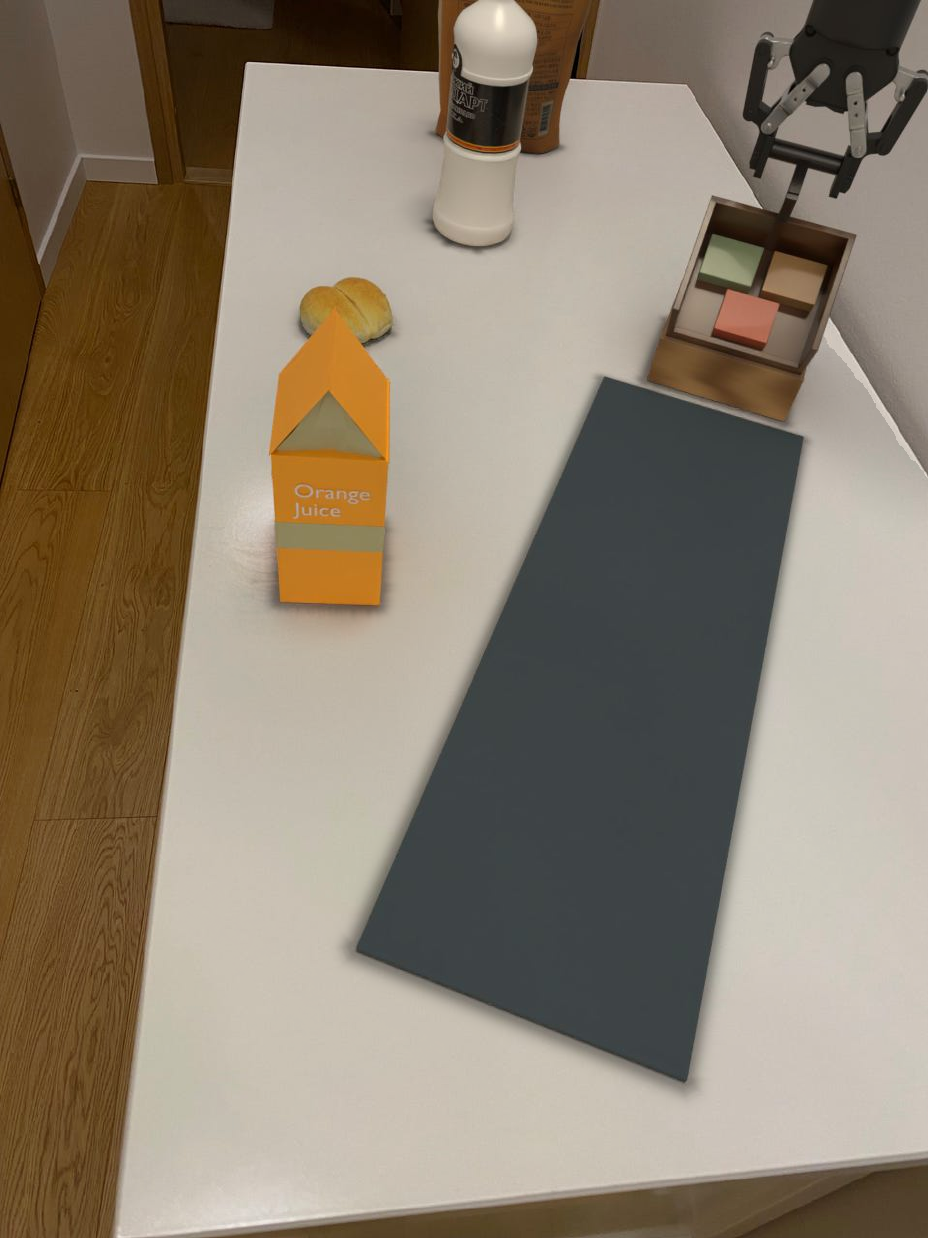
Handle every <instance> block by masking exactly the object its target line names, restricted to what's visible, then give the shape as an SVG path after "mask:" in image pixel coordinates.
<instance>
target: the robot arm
mask: <svg viewBox="0 0 928 1238" xmlns="http://www.w3.org/2000/svg"><path fill="white" fill-rule="evenodd" d="M921 2H922V0H812V1H811V4H810V8H809V11H808V14H807V15H806V16H807V17H806V20H805V22H804V25H803V27H802V29H801V30H800V31H799V32H798V33H797V34H796V35H795V36H794V38H787V37H776V36H775V35H774V33H772V32H770V31H765V32H763V33H762V34H761V35H760V36H759V39H758V40H757V43H756V45H755V48H754V52H753V58H752V63H751V68H750V73H749V79H748V83H747V89H746V93H745V99H744V104H743V109H742V117H743V118H742V119H744V120H745V121H746V122H752V123H753V124H755V126H756V127H757V128H758V131H759V132H758V135H757V139H756V141H755V144H754V148H753V150H752V154H751V156H750V159H749V163H748V164H749V169H750V170H754V172H753V175H752V177H753V178H756V179H759V180H761V179H762V176H763V173H764V171H765V167H766V166H767V162H768V159H769V158H768V157H769V154H770V151H771V148H772V146H773V143H774V140H775V138H777V134H778V131H779V128H780V126H781V125H782V124H783V123H784V122H785V120H787V119H788V117H789V116H792V115H793V114H794V113H795V112H796V111H797V109H798V108H800V106H801V105H802V104H803V103H804V102H805V105H806V106H810V107H813V108H827V109H828V110H830V111H832V112H834V113H837V114H841V115H844V114H845V112H847V120H848V121H847V122H848V131H849V141H850V144H848V145H847V147H846V149H845V152H844V155H843V156H844V158H843V161H842V164H841V167H840V169H839V171H838V174H837V175H836V176H835V175H834V178H833V181H832V183H831V186H830V187H829V188H830V189H829V193H828V198H831V199H835V200H837V199H838V197H839V195H840V193H841V194H846V193H847V192H848V191H849V190H850V189H851V187H852V185H853V182H854V180H855V178H856V176H857V174H858V171H859V168H860V166H861V164H862V161H863V160H864V158H866V157H868V156H870V155H878V156H882V157H885V156H887V155H889V154H890V153H891V152H892V150H893V149H894V146H895V145H896V144H897V142H898V140H899V139H900V137H901V135H902V133H904V131H905V129H906V127H907V126H908V124H909V122H910V121H911V118H912V117H913V115H914V114H915V112H916V111H917V109H918V107H919V105H920V104H921V103H922V100H923V99H924V97H925V96H926V94H927V93H928V70H926V69H918V70H916V71H913V70H911V69H909V68H907V67H904V66H902V65H900V52H901V48H902V46H903V44H904V41H905V39H906V37H907V34H908V32H909V30H910V27H911V25H912V22H913V21H914V17H915V16H916V13H917V11H918V8H919V6H920V4H921ZM785 57H788V59H789V62H790V65H791V69H792V73H793V77H794V80H792V81H791V83H789V85H788V86H787V87H786V88H785V89H784V91H783V92H782V94H781V95H780V96H779V97H778V98H777V100H775V102H774V103H772V104H771V106H770V105H768V104H767V103H766V102H764V101H763V98H764V93H765V89H766V83H767V79H768V74H769V71H772V70H775V69H776V68H777V67H778V66H779V64H780V61H781V60H782V59H783V58H785ZM891 83H894V85H895V89H894V94H893V97H894V98H893V99H894V100H895V102H896V103H895V106H894V108H893V109H892V111H891V113H890V114H889V116H888V117H887V119H886V121H885V122H884V125H883V126H882V128H881V130H880V131H872V132H870V130H869V100H870V99H871V98H872V97H873V96H875V95H876V94H878V93H879V92H880V91H882V90H883V89H884V88H886V87H887V86H889V85H890V84H891Z"/></svg>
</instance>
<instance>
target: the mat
mask: <svg viewBox="0 0 928 1238" xmlns="http://www.w3.org/2000/svg"><path fill="white" fill-rule="evenodd" d="M804 438H805V436H804V435H800V434H797V433H793V432H790V431H786V430H784V429H779V428H777V427H773V426H769V425H767V424H763V423H760V422H758V421H754V420H751V419H747V418H744V417H739V416H737V415H734V414H731V413H727V412H725V411H720V410H717V409H714V408H711V407H707V406H704V405H701V404H698V403H695V402H691V401H687V400H684V399H681V398H677V397H674V396H671V395H667V394H664V393H661V392H659V391H655V390H651V389H648V388H645V387H642V386H638V385H635V384H632V383H629V382H625V381H621V380H619V379H615V378H612V377H608V376H604V377H603V379H602V381H601V382H600V385H599V387H598V390H597V392H596V394H595V397H594V399H593V401H592V404H591V406H590V408H589V410H588V412H587V416H586V417H585V419H584V422H583V424H582V427H581V429H580V431H579V434H578V436H577V438H576V440H575V443H574V445H573V448H572V449H571V452H570V455H569V457H568V459H567V462H566V463H565V466H564V467H563V471H562V473H561V476H560V477H559V480H558V482H557V484H556V487H555V489H554V492H553V494H552V496H551V498H550V501H549V503H548V505H547V507H546V509H545V512H544V513H543V516H542V519H541V521H540V524H539V526H538V528H537V530H536V533H535V535H534V538H533V539H532V542H531V544H530V547H529V549H528V551H527V553H526V556H525V558H524V561H523V563H522V566H521V567H520V570H519V572H518V574H517V577H516V579H515V581H514V583H513V586H512V589H511V590H510V592H509V595H508V598H507V599H506V602H505V604H504V606H503V609H502V611H501V613H500V616H499V618H498V620H497V623H496V624H495V628H494V629H493V632H492V634H491V636H490V639H489V641H488V643H487V645H486V648H485V650H484V652H483V655H482V657H481V660H480V661H479V664H478V666H477V668H476V671H475V673H474V675H473V678H472V680H471V682H470V685H469V687H468V689H467V692H466V694H465V696H464V698H463V700H462V703H461V705H460V708H459V710H458V713H457V715H456V717H455V720H454V721H453V724H452V726H451V729H450V730H449V732H448V735H447V738H446V740H445V742H444V744H443V747H442V749H441V751H440V753H439V756H438V758H437V761H436V763H435V765H434V768H433V770H432V772H431V774H430V777H429V779H428V781H427V784H426V786H425V788H424V791H423V793H422V795H421V798H420V800H419V802H418V804H417V807H416V809H415V811H414V814H413V815H412V818H411V821H410V822H409V825H408V827H407V830H406V832H405V834H404V837H403V839H402V841H401V843H400V846H399V848H398V850H397V853H396V855H395V857H394V859H393V862H392V864H391V867H390V868H389V871H388V874H387V876H386V877H385V880H384V882H383V885H382V887H381V889H380V892H379V893H378V897H377V899H376V901H375V903H374V906H373V907H372V910H371V913H370V914H369V917H368V919H367V922H366V924H365V927H364V928H363V931H362V934H361V936H360V938H359V940H358V943H357V944H356V948H355V950H356V952H359V953H362V954H364V955H366V956H368V957H372V958H374V959H377V960H379V961H382V962H385V963H387V964H389V965H392V966H395V967H397V968H400V969H403V970H405V971H407V972H410V973H412V974H415V975H417V976H418V977H419V976H420V977H422V978H425V979H427V980H429V981H431V982H434V983H437V984H440V985H442V986H444V987H447V988H449V989H452V990H454V991H457V992H459V993H462V994H464V995H467V996H470V997H472V998H475V999H476V1000H480V1001H481V1002H484V1003H487V1004H490V1005H492V1006H494V1007H497V1008H498V1009H499V1008H500V1009H502V1010H504V1011H507V1012H509V1013H512V1014H514V1015H517V1016H519V1017H522V1018H524V1019H527V1020H529V1021H532V1022H534V1023H537V1024H540V1025H542V1026H545V1027H547V1028H549V1029H552V1030H555V1031H557V1032H560V1033H562V1034H565V1035H566V1036H570V1037H572V1038H574V1039H576V1040H577V1039H578V1040H579V1041H582V1042H584V1043H587V1044H590V1045H592V1046H595V1047H597V1048H600V1049H602V1050H604V1051H607V1052H609V1053H612V1054H615V1055H617V1056H620V1057H622V1058H625V1059H627V1060H630V1061H632V1062H634V1063H637V1064H639V1065H643V1066H644V1067H647V1068H650V1069H652V1070H655V1071H657V1072H660V1073H662V1074H665V1075H667V1076H669V1077H671V1078H674V1079H677V1080H680V1081H682V1082H687V1081H688V1079H689V1078H688V1077H689V1073H690V1068H691V1062H692V1057H693V1050H694V1044H695V1039H696V1034H697V1027H698V1023H699V1018H700V1011H701V1006H702V1002H703V1001H702V1000H703V996H704V989H705V984H706V978H707V973H708V968H709V962H710V956H711V951H712V945H713V940H714V935H715V929H716V923H717V918H718V913H719V907H720V901H721V896H722V892H723V891H722V890H723V885H724V880H725V879H724V878H725V874H726V869H727V864H728V863H727V862H728V857H729V851H730V846H731V841H732V835H733V829H734V823H735V817H736V813H737V808H738V803H739V796H740V792H741V786H742V780H743V774H744V769H745V764H746V757H747V752H748V748H749V741H750V737H751V736H750V735H751V730H752V724H753V720H754V713H755V709H756V702H757V697H758V691H759V686H760V680H761V675H762V671H763V670H762V669H763V664H764V658H765V653H766V648H767V643H768V637H769V631H770V625H771V620H772V614H773V610H774V609H773V608H774V604H775V598H776V594H777V593H776V592H777V587H778V582H779V576H780V571H781V565H782V558H783V553H784V549H785V543H786V537H787V533H788V532H787V531H788V526H789V520H790V515H791V510H792V504H793V498H794V493H795V488H796V482H797V478H798V477H797V476H798V471H799V465H800V459H801V455H802V449H803V444H804Z"/></svg>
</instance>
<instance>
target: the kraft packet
mask: <svg viewBox="0 0 928 1238" xmlns="http://www.w3.org/2000/svg"><path fill="white" fill-rule="evenodd" d="M827 267H828V266H827V265H824V264H820V263H817V262H813V261H810V260H806V259H802V258H799V257H795V256H792V255H788V254H784V253H781V252H777V251H775V252H774V254H773V256H772V258H771V261H770V264H769V267H768V270H767V273H766V276H765V279H764V282H763V285H762V288H761V290H760V293H759V296H758V297H759V298H762V299H766V300H769V301H773V302H776V303H780V304H783V305H787V306H790V307H794V308H797V309H801V310H804V311H808V312H811V310H812V308H813V307H814V305H815V302H816V299H817V296H818V293H819V291H820V288H821V285H822V282H823V279H824V276H825V273H826V270H827Z"/></svg>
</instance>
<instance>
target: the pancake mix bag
mask: <svg viewBox="0 0 928 1238" xmlns="http://www.w3.org/2000/svg"><path fill="white" fill-rule="evenodd" d="M477 1H478V0H438V9H437V20H438V21H437V23H438V25H437V26H438V27H437V28H438V91H439V92H438V94H439V110H440V111H439V115H438V118H437V121H436V126H435V130H434V133H435V134H437V135H438V136H440V137H441V138H443V137H444V134H445V132H446V126H447V115H448V104H449V94H450V83H451V72H452V61H453V59H452V54H453V51H454V26H455V23H456V20H457V18H458V16H459V15H460V14H461V12H462V11H463V10H464V9H466V8H467V7H469V6H470V5H472V4H474V3H475V2H477ZM514 1H515V2H516V3H517V4H518V5H519V6H520V7H521V8H522V9H523V10H524V11H525V12H526V13H527V15H528V16H529V17H530V18H531V19H532V20H533V22H534V25H535V27H536V33H537V47H536V51H535V55H534V59H533V63H532V65H533V71H532V74H531V76H530V79H529V86H528V92H527V99H526V105H525V112H524V118H523V125H522V131H521V138H520V144H521V151H520V153H521V152H522V153H529V154H537V155H539V154H544V153H545V154H546V153H549V152H551V151H553V150H555V149H556V148H558V147H560V146H561V142H560V140H561V139H560V138H561V137H560V122H561V114H562V113H561V112H562V107H563V102H564V99H565V95H566V91H567V88H568V86H569V83H570V80H571V77H572V71H573V66H574V62H575V58H576V54H577V49H578V48H577V47H578V43H579V40H580V37H581V34H582V32H583V29H584V27H585V23H586V21H587V18H588V15H589V12H590V9H591V7H592V3H593V0H514Z"/></svg>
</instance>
